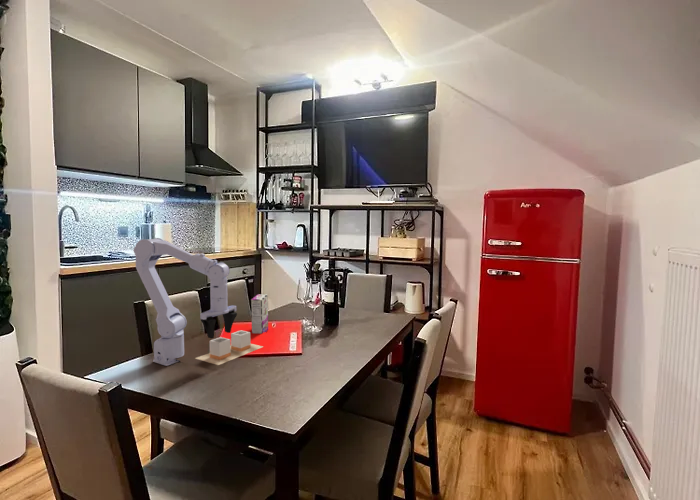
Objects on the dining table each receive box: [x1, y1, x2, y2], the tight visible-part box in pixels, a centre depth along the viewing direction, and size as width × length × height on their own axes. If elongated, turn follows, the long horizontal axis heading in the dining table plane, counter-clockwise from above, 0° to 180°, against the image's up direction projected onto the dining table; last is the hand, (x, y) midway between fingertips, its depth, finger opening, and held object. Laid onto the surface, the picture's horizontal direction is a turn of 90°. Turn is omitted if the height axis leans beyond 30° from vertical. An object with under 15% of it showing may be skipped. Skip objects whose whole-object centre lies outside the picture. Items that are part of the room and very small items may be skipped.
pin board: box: [194, 343, 264, 366], centre depth 141 cm, size 22×12×5 cm, turn 150°
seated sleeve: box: [230, 330, 252, 351], centre depth 145 cm, size 5×5×6 cm
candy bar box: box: [250, 293, 269, 334], centre depth 170 cm, size 11×5×16 cm, turn 179°
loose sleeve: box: [209, 336, 231, 360], centre depth 137 cm, size 5×5×6 cm
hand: (219, 335), depth 136 cm, fingers open, 7 cm apart
